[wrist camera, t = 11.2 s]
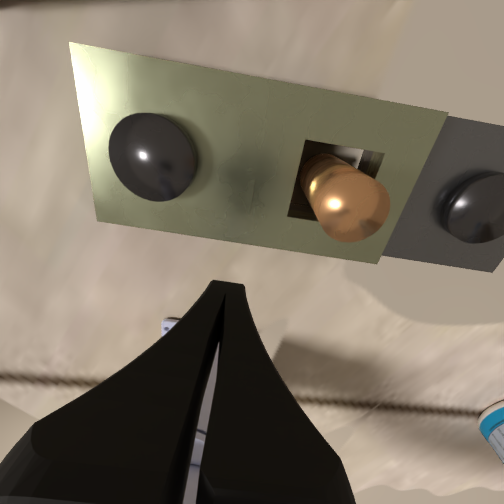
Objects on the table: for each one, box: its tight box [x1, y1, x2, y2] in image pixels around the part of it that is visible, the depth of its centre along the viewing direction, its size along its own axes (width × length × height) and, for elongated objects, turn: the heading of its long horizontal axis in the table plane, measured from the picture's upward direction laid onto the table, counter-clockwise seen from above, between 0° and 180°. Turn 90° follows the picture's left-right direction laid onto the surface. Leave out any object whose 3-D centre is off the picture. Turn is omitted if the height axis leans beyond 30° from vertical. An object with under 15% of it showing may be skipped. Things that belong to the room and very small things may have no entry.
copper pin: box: [300, 153, 390, 242], centre depth 14 cm, size 3×3×7 cm
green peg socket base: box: [69, 42, 504, 273], centre depth 15 cm, size 9×28×4 cm, turn 81°
